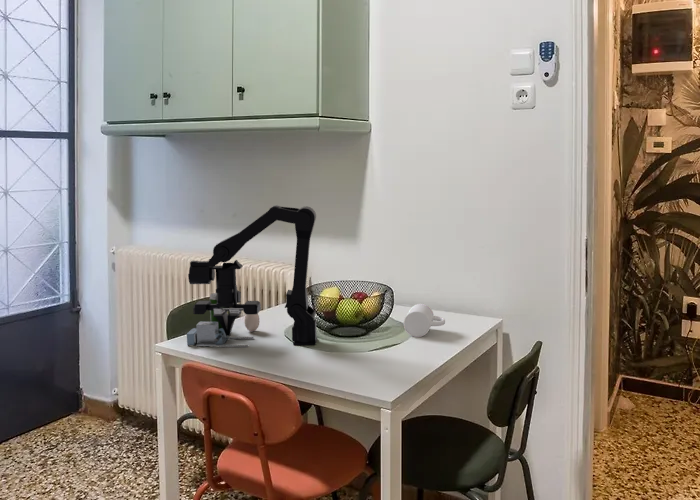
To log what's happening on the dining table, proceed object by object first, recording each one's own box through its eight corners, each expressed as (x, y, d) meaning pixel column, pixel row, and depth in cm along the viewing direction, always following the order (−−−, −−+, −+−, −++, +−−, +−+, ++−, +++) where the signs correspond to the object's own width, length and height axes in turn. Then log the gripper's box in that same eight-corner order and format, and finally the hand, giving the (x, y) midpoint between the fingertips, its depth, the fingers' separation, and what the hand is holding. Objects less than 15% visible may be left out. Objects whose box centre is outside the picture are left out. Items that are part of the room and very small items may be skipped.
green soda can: (214, 335, 198) (213, 297, 196) (208, 331, 202) (206, 294, 201) (231, 332, 201) (229, 294, 199) (224, 328, 205) (223, 291, 203)
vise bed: (253, 338, 194) (253, 327, 194) (247, 347, 186) (247, 335, 185) (194, 338, 195) (193, 327, 195) (186, 346, 187) (185, 335, 186)
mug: (403, 336, 195) (403, 310, 194) (408, 327, 205) (408, 303, 203) (443, 339, 192) (443, 312, 191) (446, 329, 202) (447, 304, 201)
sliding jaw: (227, 338, 194) (227, 328, 193) (219, 348, 184) (219, 337, 184) (220, 338, 194) (219, 328, 193) (211, 348, 184) (211, 337, 184)
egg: (254, 334, 199) (253, 310, 198) (241, 332, 201) (240, 309, 200) (262, 330, 203) (262, 307, 202) (250, 328, 205) (249, 305, 204)
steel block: (200, 341, 193) (199, 321, 192) (218, 341, 192) (218, 321, 192) (197, 344, 189) (196, 324, 188) (215, 344, 189) (214, 324, 188)
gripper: (263, 278, 195) (265, 328, 198) (202, 278, 196) (204, 328, 199) (256, 286, 184) (257, 339, 187) (191, 286, 185) (194, 338, 188)
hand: (228, 336), depth 190 cm, fingers closed
